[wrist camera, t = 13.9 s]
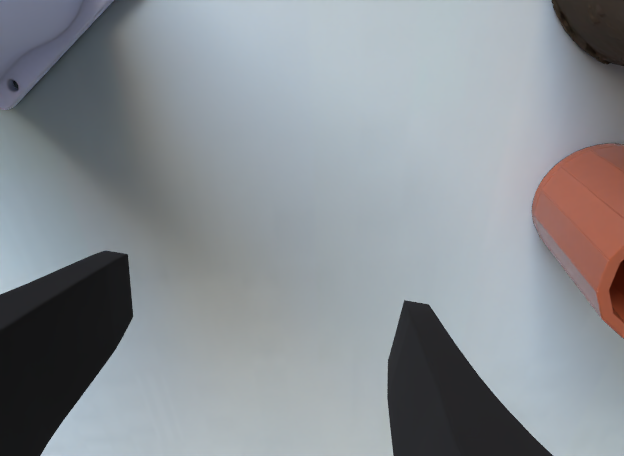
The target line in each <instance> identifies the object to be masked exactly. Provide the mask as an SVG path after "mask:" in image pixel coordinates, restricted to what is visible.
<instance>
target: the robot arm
mask: <svg viewBox="0 0 624 456" xmlns="http://www.w3.org/2000/svg"><path fill="white" fill-rule="evenodd" d="M113 1H114V0H0V109H2V110H8V109H11V108H13V107H15V106H16V105H17V104H18V102H19V101H20V100H21V99H22V98H23V97H24V96H25V95H26V94H27V93H28V92H29V91H30V90H31V89H32V88H33V86H34V85H35V84H36V83H37V82H38V81H39V80H40V79H41V78H42V77H43V76H44V75H45V74H46V73H47V71H48V70H49V69H50V68H51V67H52V66H53V65H54V64H55V63H56V62H57V61H58V60H59V59H60V58H61V56H62V55H63V54H64V53H65V52H66V51H67V50H68V49H69V48H70V47H71V46H72V45H73V44H74V43H75V41H76V40H77V39H78V38H79V37H80V36H81V35H82V34H83V33H84V32H85V31H86V30H87V29H88V28H89V26H90V25H91V24H92V23H93V22H94V21H95V20H96V19H97V18H98V17H99V16H100V15H101V14H102V13H103V11H104V10H105V9H106V8H107V7H108V6H109V5H110V4H111V3H112V2H113ZM13 80H14V81H16V82H17V84H18V87H19V88H18V89H17V88H15V86H14V84H13ZM132 318H133V309H132V298H131V286H130V274H129V262H128V254H123V253H117V252H111V251H103V252H100V253H97V254H94V255H92V256H89V257H87V258H85V259H82V260H80V261H78V262H75V263H73V264H71V265H69V266H66V267H64V268H62V269H60V270H57V271H55V272H53V273H51V274H48V275H46V276H44V277H41V278H39V279H37V280H35V281H32V282H30V283H28V284H25V285H23V286H21V287H18V288H16V289H13V290H11V291H8V292H6V293H3V294H1V295H0V456H40V455H41V453H42V452H43V450H44V448H45V447H46V445H47V443H48V442H49V440H50V439H51V437H52V436H53V434H54V433H55V432H56V430H57V429H58V427H59V426H60V424H61V423H62V421H63V420H64V419H65V417H66V416H67V415H68V413H69V412H70V411H71V409H72V408H73V407H74V405H75V404H76V403H77V401H78V400H79V399H80V397H81V396H82V395H83V393H84V392H85V391H86V389H87V388H88V386H89V385H90V384H91V382H92V381H93V380H94V378H95V377H96V376H97V374H98V373H99V372H100V370H101V369H102V367H103V366H104V365H105V363H106V362H107V361H108V359H109V358H110V356H111V355H112V354H113V352H114V351H115V349H116V348H117V346H118V344H119V342H120V340H121V339H122V337H123V335H124V333H125V331H126V329H127V328H128V326H129V324H130V322H131V320H132ZM388 408H389V417H390V427H391V436H392V445H393V455H394V456H553V455H552V454H551V453H550V452H549V451H547V450H546V449H545V448H544V447H543V446H542V445H541V444H540V443H539V442H538V441H537V440H536V439H535V438H534V437H533V436H532V435H531V434H530V433H529V432H528V431H527V430H526V429H525V428H524V427H523V426H522V424H521V423H520V422H519V421H518V420H517V419H516V418H515V417H514V416H513V415H512V414H511V413H510V412H509V411H508V410H507V409H506V407H505V406H504V405H503V404H502V403H501V402H500V401H499V400H498V398H497V397H496V396H495V395H494V394H493V392H492V391H491V390H490V389H489V388H488V386H487V385H486V384H485V383H484V381H483V380H482V379H481V378H480V377H479V375H478V374H477V373H476V371H475V370H474V369H473V368H472V366H471V365H470V363H469V362H468V361H467V359H466V358H465V357H464V355H463V354H462V353H461V351H460V350H459V348H458V347H457V346H456V344H455V343H454V341H453V340H452V338H451V337H450V335H449V334H448V332H447V331H446V329H445V328H444V326H443V325H442V323H441V322H440V320H439V319H438V317H437V316H436V314H435V313H434V312H433V310H432V309H431V307H430V306H429V304H423V303H417V302H411V301H405V300H404V304H403V308H402V311H401V315H400V319H399V322H398V326H397V330H396V334H395V337H394V341H393V345H392V348H391V352H390V356H389V359H388Z"/></svg>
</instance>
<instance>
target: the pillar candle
mask: <svg viewBox="0 0 624 456" xmlns="http://www.w3.org/2000/svg"><path fill="white" fill-rule="evenodd" d="M552 3H553V4H554V5H553V7H554V10H555V12H556V14H557V17H558V18H559V20H560V21H561V23H562V25H563V27H564V29H565V31H566V32H567V33H568V34H569V35H570V36H571V38H572V39H573V41H575V42H576V43H577V44H578V45H579V47H580V48H581V49H583V50H584V51H585V52H586V53H588V54H589V55H590V56H592V57H594V58H596V60H598V61H600V62H602V63H604V64H609V63H613V64H618V65H622V66H624V0H552Z"/></svg>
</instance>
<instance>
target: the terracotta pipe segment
mask: <svg viewBox="0 0 624 456" xmlns="http://www.w3.org/2000/svg"><path fill="white" fill-rule="evenodd" d="M532 217H533V222H534V225H535V228H536V230H537V232H538V233H539V236H540V238H541V239H542V241H543V242H544V243H545V245H546V246H547V247H548V248H549V250H550V251H551V252H552V254H553V255H554V256H555V258H556V259H557V260H558V262H559V263H560V264H561V266H562V267H563V268H564V270H565V271H566V272H567V274H568V275H569V276H570V278H571V279H572V280H573V282H574V283H575V284H576V286H577V287H578V288H579V290H580V291H581V292H582V293H583V295H584V296H585V297H586V299H587V300H588V301H589V303H590V304H591V305H592V307H593V308H594V309H595V311H596V312H597V313H598V315H599V316H600V317H601V319H602V320H603V321H604V322H605V323H607V324H608V325H609V326H610V327H611V328H612V329H613V330H614V331H615V332H616V333H618V334H619V335H620V336H621V337H622V338H624V144H616V143H610V144H600V145H595V146H591V147H587V148H584V149H582V150H579V151H577V152H575V153H573V154H571V155H569V156H568V157H566V158H564V159H563V160H562V161H560V162H559V163H558V164H556V165H555V166H554V167H553V168H552V169H551V170H550V171H549V172H548V173H547V175H546V176H545V177H544V178H543V180H542V181H541V183H540V184H539V186H538V189H537V191H536V193H535V196H534V199H533V205H532Z"/></svg>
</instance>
